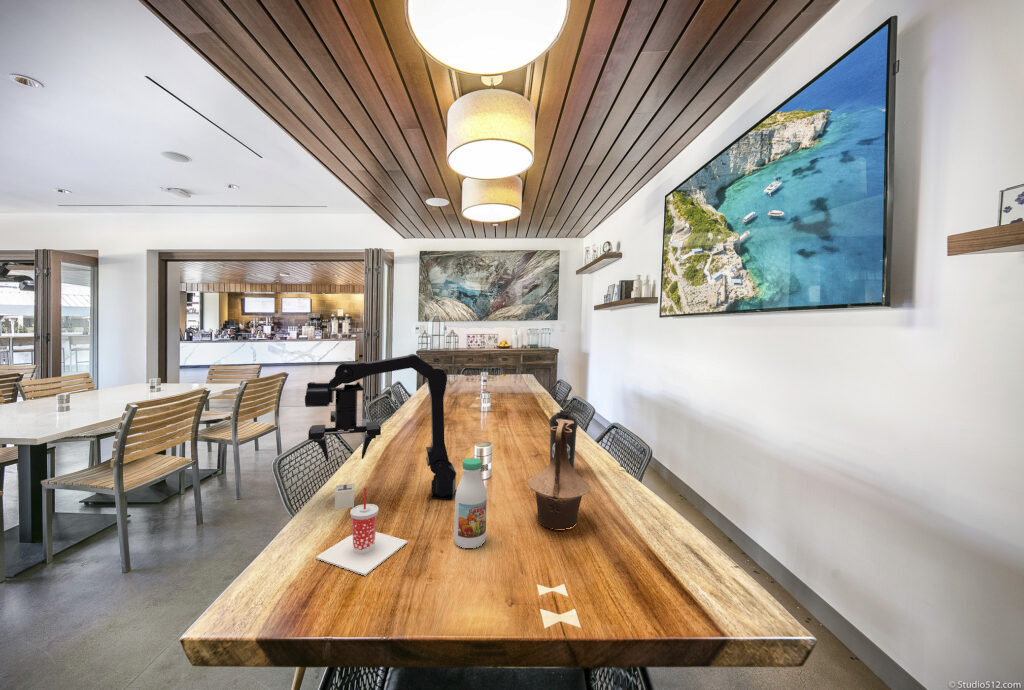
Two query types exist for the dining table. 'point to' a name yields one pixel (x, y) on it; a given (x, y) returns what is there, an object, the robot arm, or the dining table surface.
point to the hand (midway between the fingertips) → (345, 460)
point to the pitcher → (559, 485)
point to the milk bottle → (470, 506)
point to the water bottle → (572, 438)
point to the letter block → (344, 496)
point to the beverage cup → (364, 526)
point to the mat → (361, 562)
